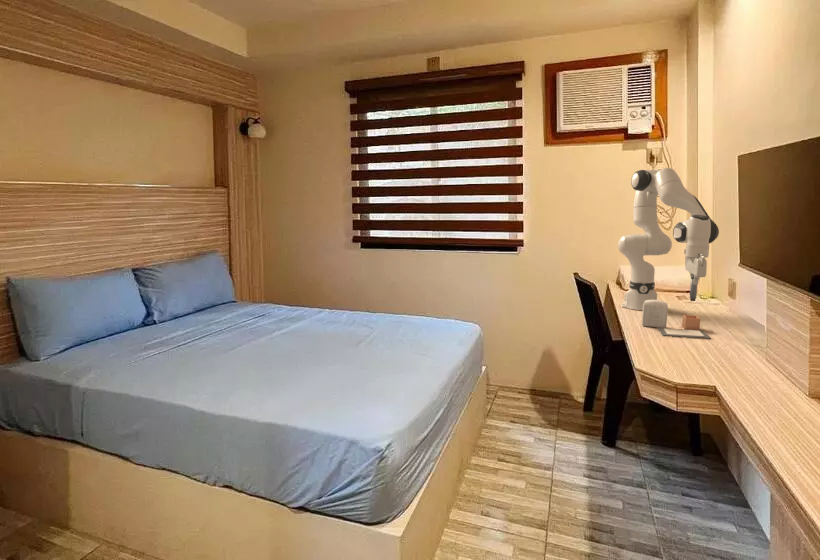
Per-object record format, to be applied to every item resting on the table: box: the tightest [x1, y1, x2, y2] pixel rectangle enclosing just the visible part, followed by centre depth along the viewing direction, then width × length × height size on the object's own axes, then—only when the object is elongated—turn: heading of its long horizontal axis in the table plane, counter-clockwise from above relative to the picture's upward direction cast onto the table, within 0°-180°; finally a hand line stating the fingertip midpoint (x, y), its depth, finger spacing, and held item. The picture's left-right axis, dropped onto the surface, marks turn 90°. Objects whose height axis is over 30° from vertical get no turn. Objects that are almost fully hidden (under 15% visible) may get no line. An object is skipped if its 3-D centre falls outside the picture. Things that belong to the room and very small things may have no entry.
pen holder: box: [681, 314, 701, 330], centre depth 227 cm, size 6×6×6 cm
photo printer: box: [641, 299, 669, 328], centre depth 231 cm, size 10×4×12 cm, turn 61°
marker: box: [689, 276, 698, 302], centre depth 224 cm, size 3×3×11 cm
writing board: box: [657, 327, 712, 340], centre depth 219 cm, size 12×18×1 cm, turn 74°
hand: (694, 283), depth 224 cm, fingers closed on marker, 3 cm apart
